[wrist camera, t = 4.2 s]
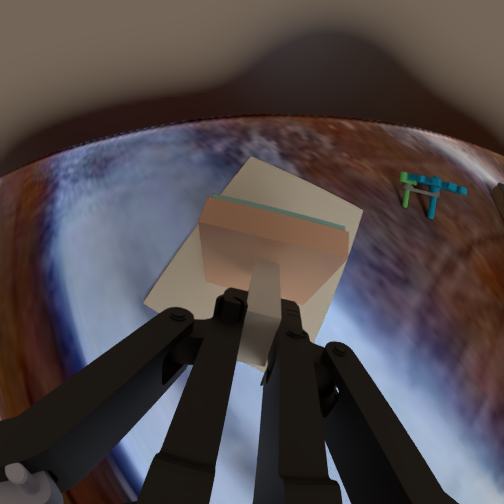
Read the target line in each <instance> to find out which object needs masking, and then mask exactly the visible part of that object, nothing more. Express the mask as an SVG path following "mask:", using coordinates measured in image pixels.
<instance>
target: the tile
mask: <svg viewBox="0 0 504 504" xmlns="http://www.w3.org/2000/svg"><path fill="white" fill-rule="evenodd" d="M198 225H199V233H200V240H201V248H202V255H203V262H204V269H205V276H206V282H208V283H211V284H215V285H219V286H223V287H227V288H230V287H232V288H236V289H241V290H245V291H248V289H249V285H250V281H251V277H252V273H253V269H254V265H255V260H256V259H261V260H265V261H269V262H273V263H277V264H279V267H280V291H281V298H282V299H286V300H291V301H295V302H296V303H297V304H299V305H304V304H305V303H306V302H307V301H308V300H309V299H310V298H311V297H312V296H313V295H314V294H315V293H316V292H317V291H318V290H319V289H320V288H321V287H322V286H323V285H324V284H325V283H326V282H327V281H328V279H329V278H330V277H331V276H332V275H333V274H334V273H335V272H336V271H337V270H338V269H339V268H340V267H341V266H342V265H343V264H344V263H345V261H346V260H347V259H348V249H349V232H347V231H345V226H343V225H339V224H335V223H332V222H328V221H325V220H321V219H317V218H314V217H310V216H306V215H302V214H298V213H295V212H291V211H287V210H283V209H279V208H275V207H271V206H267V205H262V204H258V203H254V202H250V201H246V200H241V199H237V198H232V197H228V196H223V195H219V194H214V193H213V196H212V197H208V198H207V200H206V203H205V205H204V208H203V211H202V213H201V216H200V218H199V221H198Z"/></svg>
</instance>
